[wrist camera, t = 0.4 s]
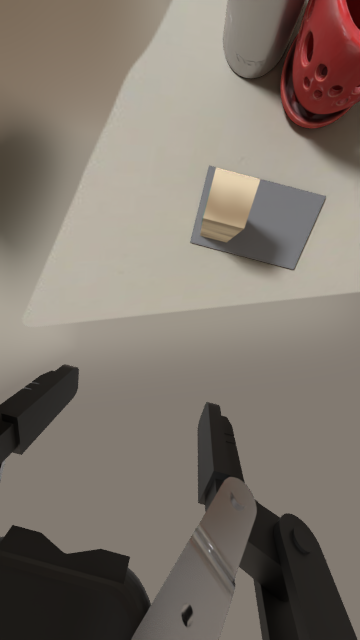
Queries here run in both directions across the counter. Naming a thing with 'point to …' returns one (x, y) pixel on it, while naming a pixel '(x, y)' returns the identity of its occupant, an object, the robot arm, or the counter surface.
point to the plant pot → (323, 64)
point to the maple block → (228, 204)
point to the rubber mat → (267, 223)
